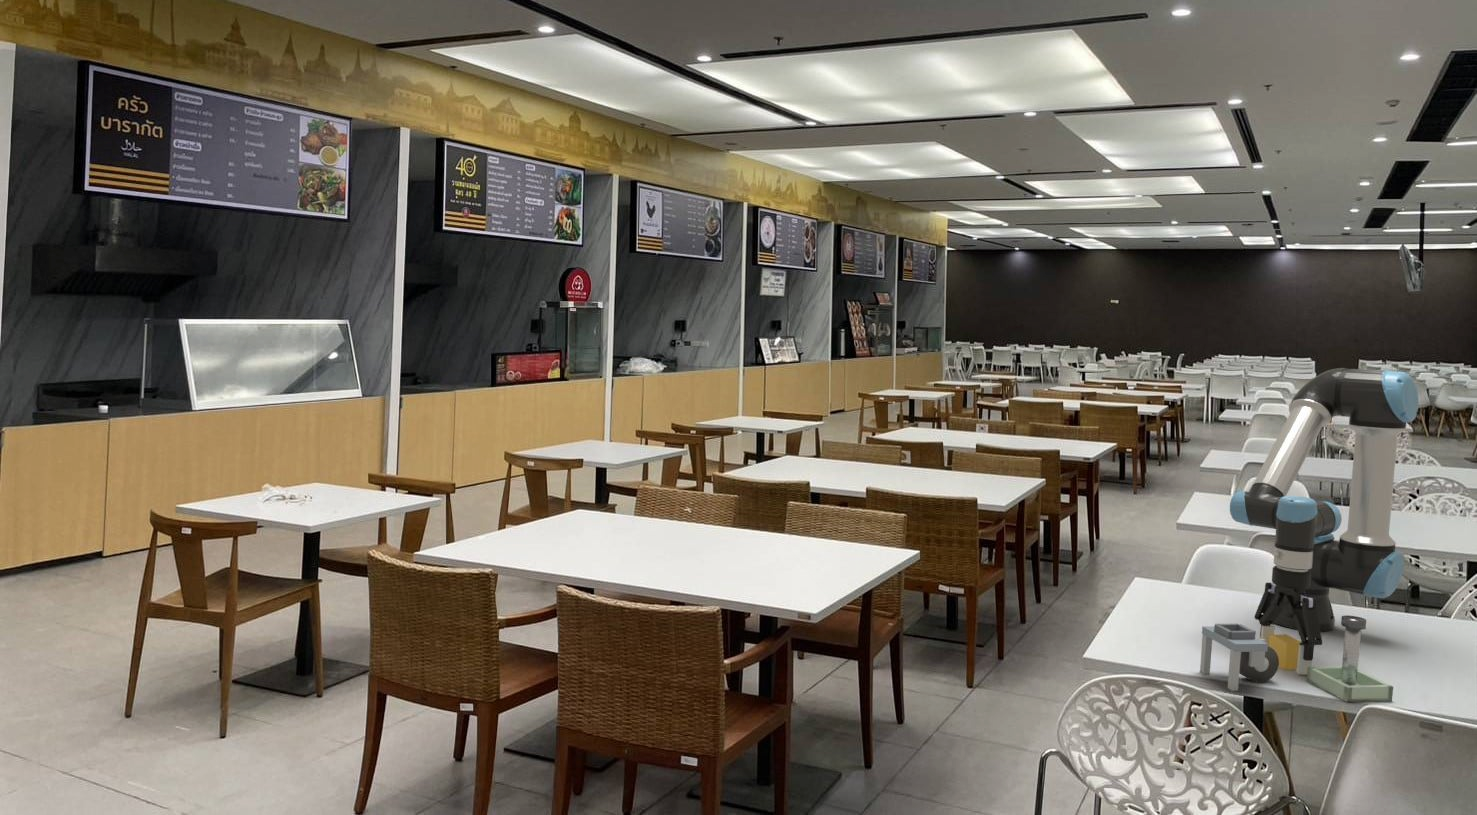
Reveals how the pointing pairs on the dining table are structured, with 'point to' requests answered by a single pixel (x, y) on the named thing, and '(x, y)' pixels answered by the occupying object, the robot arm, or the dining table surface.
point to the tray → (1361, 692)
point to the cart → (1240, 653)
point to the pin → (1351, 648)
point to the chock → (1285, 650)
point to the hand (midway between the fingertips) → (1284, 663)
